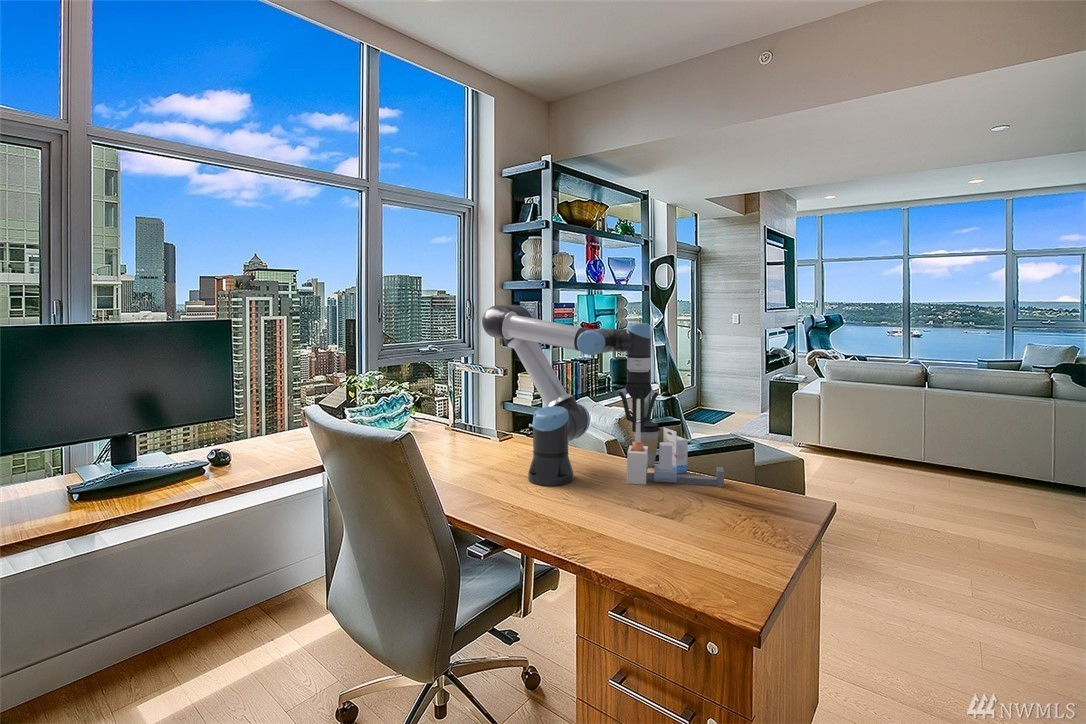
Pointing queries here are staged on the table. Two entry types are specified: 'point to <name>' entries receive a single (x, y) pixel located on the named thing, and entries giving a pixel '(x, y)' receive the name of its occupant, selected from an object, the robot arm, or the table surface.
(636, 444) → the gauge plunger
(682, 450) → the ink box
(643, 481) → the cabinet
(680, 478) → the rail
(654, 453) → the coffee cup
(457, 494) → the table surface
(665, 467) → the carriage
